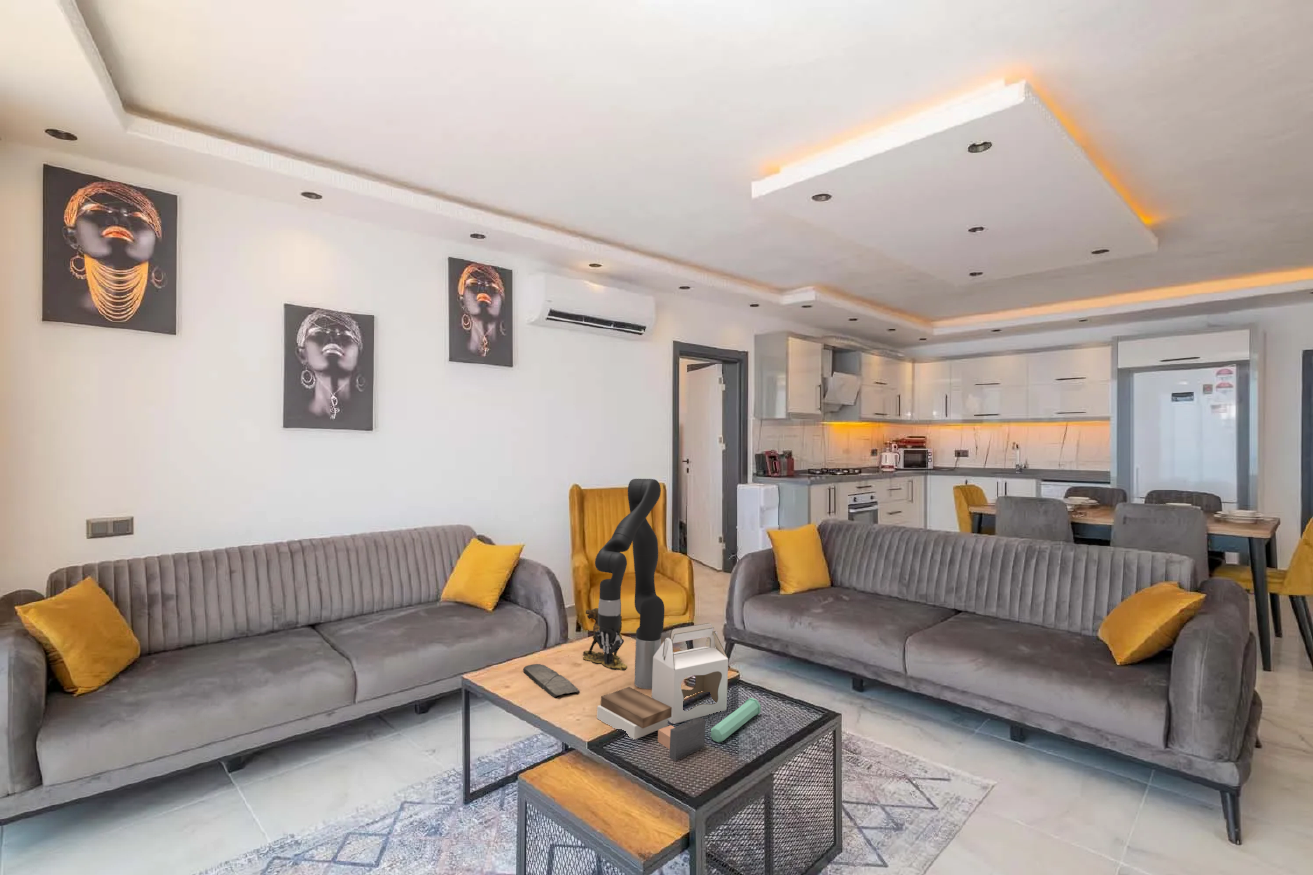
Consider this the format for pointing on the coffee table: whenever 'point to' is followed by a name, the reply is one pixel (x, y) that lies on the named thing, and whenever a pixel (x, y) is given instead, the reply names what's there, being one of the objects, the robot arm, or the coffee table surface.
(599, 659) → the figurine
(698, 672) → the gable box
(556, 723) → the coffee table surface
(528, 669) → the stone slab
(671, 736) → the block
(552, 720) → the coffee table surface
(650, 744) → the coffee table surface
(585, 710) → the coffee table surface
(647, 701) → the plank
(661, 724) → the riser
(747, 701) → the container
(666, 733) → the support block
